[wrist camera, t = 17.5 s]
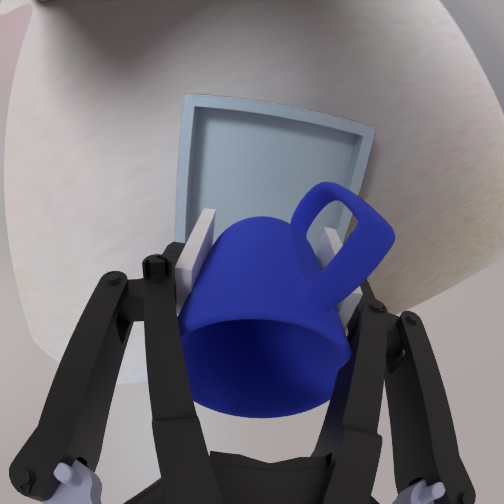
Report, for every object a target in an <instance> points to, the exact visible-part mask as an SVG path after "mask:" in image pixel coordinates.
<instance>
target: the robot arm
mask: <svg viewBox="0 0 504 504" xmlns="http://www.w3.org/2000/svg"><path fill="white" fill-rule="evenodd" d="M39 1H50V0H39ZM215 216H216V209H209V208H204V209H203V211H202V213H201V215H200V217H199V219H198V221H197V223H196V225H195V227H194V229H193V231H192V233H191V235H190V237H189V239H188V241H187V243H180V242H172V243H171V244H169V245H168V246H167V247H166V249H165V251H164V252H163V254H162V255H160V254H155V255H150V256H148V257H146V258H145V259H144V260H143V262H142V266H143V277H144V278H142V279H132V280H127V276H126V274H124V273H123V272H120V271H111V272H108V273H106V274H104V275H103V276H102V277H101V279H100V281H99V282H98V284H97V286H96V288H95V290H94V292H93V294H92V296H91V298H90V299H89V301H88V303H87V305H86V307H85V309H84V311H83V313H82V315H81V317H80V319H79V322H78V324H77V326H76V328H75V330H74V332H73V334H72V337H71V339H70V341H69V343H68V346H67V348H66V350H65V352H64V355H63V357H62V360H61V362H60V364H59V367H58V370H57V372H56V375H55V377H54V380H53V382H52V385H51V388H50V391H49V393H48V397H47V399H46V402H45V405H44V408H43V411H42V414H41V417H40V421H39V424H38V426H37V428H36V429H35V431H34V432H33V433H32V435H31V436H30V437H29V439H28V440H27V442H26V443H25V445H24V446H23V447H22V449H21V450H20V451H19V453H18V454H17V456H16V457H15V459H14V460H13V462H12V463H11V465H10V468H9V477H10V480H11V483H12V485H13V486H14V487H15V489H16V490H17V491H18V492H20V493H21V494H22V495H24V496H27V497H29V498H32V499H35V500H38V501H40V502H42V503H44V504H101V499H100V497H101V492H102V483H101V481H100V479H99V477H98V476H97V475H96V474H95V473H94V472H95V470H96V467H97V464H98V462H99V457H100V453H101V449H102V444H103V438H104V433H105V428H106V423H107V419H108V414H109V410H110V405H111V401H112V397H113V393H114V389H115V385H116V381H117V377H118V373H119V370H120V366H121V362H122V359H123V355H124V352H125V348H126V345H127V342H128V338H129V335H130V332H131V329H132V326H133V322H134V321H144V329H145V348H146V362H147V374H148V384H149V394H150V402H151V409H152V429H153V436H154V441H155V448H156V453H157V458H158V463H159V468H160V473H161V478H160V479H159V480H157V481H156V482H155V483H153V484H152V485H150V486H149V487H147V488H146V489H144V490H143V491H141V492H140V493H139V494H137V495H136V496H134V497H133V498H131V499H130V500H128V501H126V502H125V503H124V504H379V503H378V502H377V501H376V500H375V499H374V498H373V497H372V496H371V493H372V489H373V484H374V481H375V476H376V472H377V467H378V463H379V458H380V453H381V447H382V436H381V435H379V434H378V433H377V428H378V422H379V416H380V409H381V401H382V393H383V384H384V380H385V387H386V393H387V400H388V408H389V416H390V424H391V434H392V446H393V458H394V474H395V483H396V488H397V492H398V496H397V499H396V500H395V501H394V502H393V503H392V504H474V502H475V497H476V494H475V490H474V487H473V485H472V483H471V480H470V478H469V476H468V474H467V471H466V470H465V467H464V465H463V463H462V460H461V458H460V456H459V452H458V445H457V440H456V435H455V430H454V425H453V421H452V417H451V412H450V408H449V404H448V400H447V396H446V393H445V389H444V385H443V382H442V379H441V375H440V372H439V369H438V365H437V362H436V359H435V356H434V353H433V351H432V348H431V345H430V342H429V339H428V337H427V333H426V331H425V328H424V325H423V323H422V321H421V319H420V317H419V316H417V314H415V313H413V312H411V311H404V312H402V314H401V315H400V317H399V316H396V315H393V314H390V313H388V311H387V308H386V306H385V305H384V304H383V303H381V302H380V301H378V300H376V299H375V297H374V294H373V292H372V290H371V287H370V286H369V283H368V282H367V278H366V279H365V280H364V282H363V283H362V284H361V285H360V286H359V287H358V288H357V289H356V290H355V291H353V292H352V293H351V294H350V295H349V296H348V297H347V298H345V299H344V300H343V301H341V302H340V303H338V304H337V305H336V309H337V312H338V314H339V317H340V320H341V323H342V325H343V328H344V331H345V329H346V327H347V328H348V332H349V333H348V335H347V340H348V342H349V345H350V348H351V351H352V353H351V356H350V358H349V360H348V361H347V363H346V364H345V365H343V366H342V367H341V368H340V369H339V370H338V373H337V377H336V381H335V385H334V389H333V392H332V396H331V399H330V403H329V406H328V410H327V413H326V416H325V420H324V423H323V426H322V430H321V432H320V435H319V438H318V441H317V444H316V448H315V450H314V452H313V453H312V455H311V456H310V457H298V458H294V459H289V460H285V461H280V462H276V463H266V462H262V461H259V460H255V459H252V458H249V457H246V456H243V455H240V454H230V453H222V452H215V451H210V456H209V455H208V451H207V447H206V444H205V440H204V437H203V433H202V429H201V426H200V421H199V418H198V416H197V414H196V411H195V406H194V402H193V397H192V393H191V388H190V384H189V379H188V374H187V369H186V364H185V358H184V353H183V347H182V342H181V336H180V330H179V324H178V317H177V313H180V311H181V309H182V307H183V304H184V302H185V300H186V299H187V297H188V296H189V294H190V293H191V292H192V289H193V287H194V284H195V282H196V280H197V277H198V275H199V273H200V271H201V269H202V266H203V264H204V262H205V260H206V258H207V256H208V254H209V252H210V250H211V248H212V246H213V237H214V226H215ZM342 246H343V245H342V243H341V241H340V238H339V236H338V234H337V232H336V230H335V229H333V228H327V227H324V230H323V233H322V237H321V240H320V243H319V247H318V250H317V253H316V257H317V260H318V262H319V265H320V267H321V270H322V271H323V269H324V268H325V267H326V266H327V265H328V264H329V262H330V261H331V260H332V259H333V258H334V256H335V255H336V254H337V253H338V251H339V250H340V249H341V247H342ZM404 351H405V354H404Z"/></svg>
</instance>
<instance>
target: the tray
mask: <svg viewBox="0 0 504 504" xmlns="http://www.w3.org/2000/svg"><path fill="white" fill-rule="evenodd" d="M375 131H376V128H374V127H371V126H368V125H365V124H362V123H359V122H355V121H352V120H348V119H345V118H341V117H337V116H333V115H329V114H325V113H321V112H317V111H312V110H308V109H303V108H298V107H293V106H288V105H282V104H277V103H271V102H264V101H258V100H250V99H243V98H234V97H225V96H214V95H201V94H184V99H183V108H182V118H181V128H180V140H179V153H178V168H177V187H176V216H175V242H180V243H187V241H188V239H189V237H190V235H191V233H192V231H193V229H194V227H195V225H196V223H197V221H198V219H199V217H200V215H201V213H202V211H203V209H204V208H209V209H216V216H215V226H214V237H213V244H214V243H215V241H216V240H217V238H218V237H219V236H220V235H221V234H222V233H223V232H224V231H225V230H226V229H227V228H228V227H230V226H231V225H233V224H234V223H236V222H238V221H241V220H243V219H246V218H251V217H258V216H267V217H273V218H277V219H281V220H283V221H285V222H288V223H289V224H290V222H291V218H292V216H293V213H294V211H295V209H296V208H297V206H298V204H299V203H300V201H301V200H302V198H303V197H304V196H305V194H306V193H307V192H308V191H309V190H310V189H311V188H312V187H314V186H315V185H316V184H319V183H321V182H333V183H336V184H339V185H341V186H343V187H345V188H347V189H348V190H350V191H352V192H353V193H355V194H356V195H357V196H358V195H359V192H360V188H361V185H362V181H363V178H364V174H365V170H366V167H367V163H368V159H369V156H370V152H371V148H372V144H373V140H374V136H375ZM352 214H353V213H352V212H351V211H350V210H349V209H348V208H347V207H346V206H345V205H344V204H343V203H342V202H341V201H333V202H331V203H329V204H328V205H327V206H325V207H324V208H323V209H322V210H321V212H320V213H319V214H318V215H317V217H316V218H315V219H314V221H313V222H312V224H311V226H310V227H309V229H308V231H307V235H306V238H307V240H308V241H309V243H310V244H311V246H312V248H313V250H314V253H315V255H316V253H317V250H318V247H319V243H320V240H321V237H322V233H323V230H324V227H327V228H333V229H335V230H336V232H337V234H338V236H339V238H340V241H341V243H342V245H343V242H344V239H345V236H346V233H347V230H348V227H349V224H350V221H351V218H352ZM177 315H179V313H177Z"/></svg>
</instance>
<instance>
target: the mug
mask: <svg viewBox="0 0 504 504" xmlns="http://www.w3.org/2000/svg"><path fill="white" fill-rule="evenodd" d="M333 201H341V202H342V203H343V204H344V205H345V206H346V207H347V208H348V209H349V210H350V211H351V212H352V213H353V215H354V216H355V217H356V218H357V219H358V224H357V226H356V228H355V229H354V231H353V232H352V234H351V235H350V236H349V238H348V239H347V241H346V242H345V243H344V245H343V246H342V247H341V249H340V250H339V251H338V253H337V254H336V255H335V256H334V258H333V259H332V260H331V261H330V262H329V264H328V265H327V266H326V267H325V268H324V269H323V271H322V270H321V267H320V265H319V262H318V260H317V257H316V255H315V253H314V250H313V248H312V246H311V244H310V243H309V241H308V240H307V238H306V235H307V231H308V229H309V227H310V226H311V224H312V222H313V221H314V219H315V218H316V217H317V215H318V214H319V213H320V212H321V210H322V209H323V208H324V207H325V206H327V205H328V204H329V203H331V202H333ZM394 240H395V235H394V231H393V229H392V227H391V226H390V225H389V224H388V223H387V221H386V220H385V219H384V218H383V217H381V216H380V215H379V214H378V213H377V212H376V211H375V210H374V209H373V208H372V207H371V206H370V205H369V204H367V203H366V202H365V201H364V200H362V199H361V198H360V197H359V196H357V195H356V194H355V193H353V192H352V191H350V190H348V189H347V188H345V187H343V186H341V185H339V184H336V183H333V182H321V183H319V184H316V185H315V186H314V187H312V188H311V189H310V190H309V191H308V192H307V193H306V194H305V196H304V197H303V198H302V200H301V201H300V203H299V204H298V206H297V208H296V209H295V211H294V213H293V216H292V218H291V222H290V224H289V223H288V222H285V221H283V220H281V219H277V218H273V217H267V216H258V217H251V218H246V219H243V220H241V221H238V222H236V223H234V224H233V225H231V226H230V227H228V228H227V229H226V230H225V231H224V232H223V233H222V234H221V235H220V236H219V237H218V238H217V240H216V241H215V243H214V244H213V246H212V248H211V250H210V252H209V254H208V256H207V258H206V260H205V262H204V264H203V266H202V269H201V271H200V273H199V275H198V277H197V280H196V282H195V284H194V287H193V289H192V292H191V293H190V294H189V296H188V297H187V299H186V300H185V302H184V304H183V307H182V309H181V311H180V313H179V315H178V324H179V330H180V336H181V342H182V347H183V353H184V358H185V364H186V369H187V374H188V379H189V384H190V388H191V393H192V397H193V401H195V402H197V403H198V404H200V405H202V406H205V407H207V408H210V409H212V410H215V411H218V412H221V413H225V414H229V415H233V416H240V417H248V418H274V417H283V416H290V415H294V414H297V413H302V412H305V411H308V410H311V409H313V408H316V407H318V406H320V405H322V404H324V403H325V402H327V401H328V400H330V399H331V396H332V392H333V389H334V385H335V381H336V377H337V373H338V370H339V369H340V368H341V367H342V366H343V365H345V364H346V363H347V361H348V360H349V358H350V356H351V353H352V351H351V348H350V345H349V342H348V340H347V337H346V334H345V331H344V328H343V325H342V323H341V320H340V317H339V314H338V312H337V309H336V305H337V304H338V303H340V302H341V301H343V300H344V299H345V298H347V297H348V296H349V295H350V294H351V293H352V292H353V291H355V290H356V289H357V288H358V287H359V286H360V285H361V284H362V283H363V282H364V280H365V279H366V278H367V277H368V276H369V275H370V274H371V273H372V271H373V270H374V269H375V268H376V267H377V266H378V264H379V263H380V262H381V260H382V259H383V258H384V256H385V255H386V254H387V252H388V251H389V250H390V248H391V246H392V245H393V243H394Z"/></svg>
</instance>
